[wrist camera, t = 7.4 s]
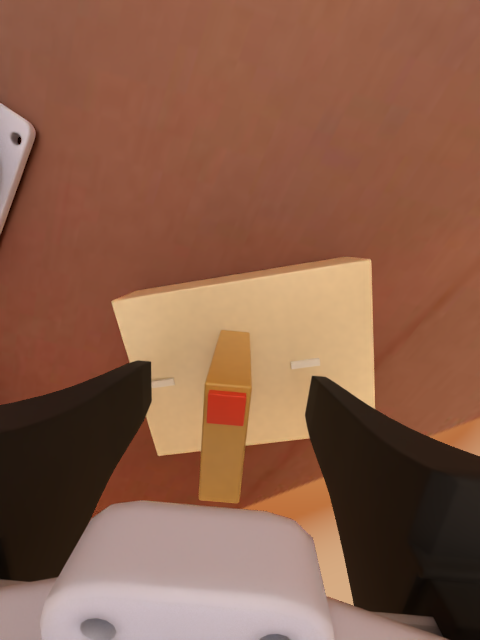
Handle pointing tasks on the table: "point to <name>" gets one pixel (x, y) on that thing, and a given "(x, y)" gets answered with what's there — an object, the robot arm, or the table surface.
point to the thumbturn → (225, 418)
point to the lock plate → (253, 344)
